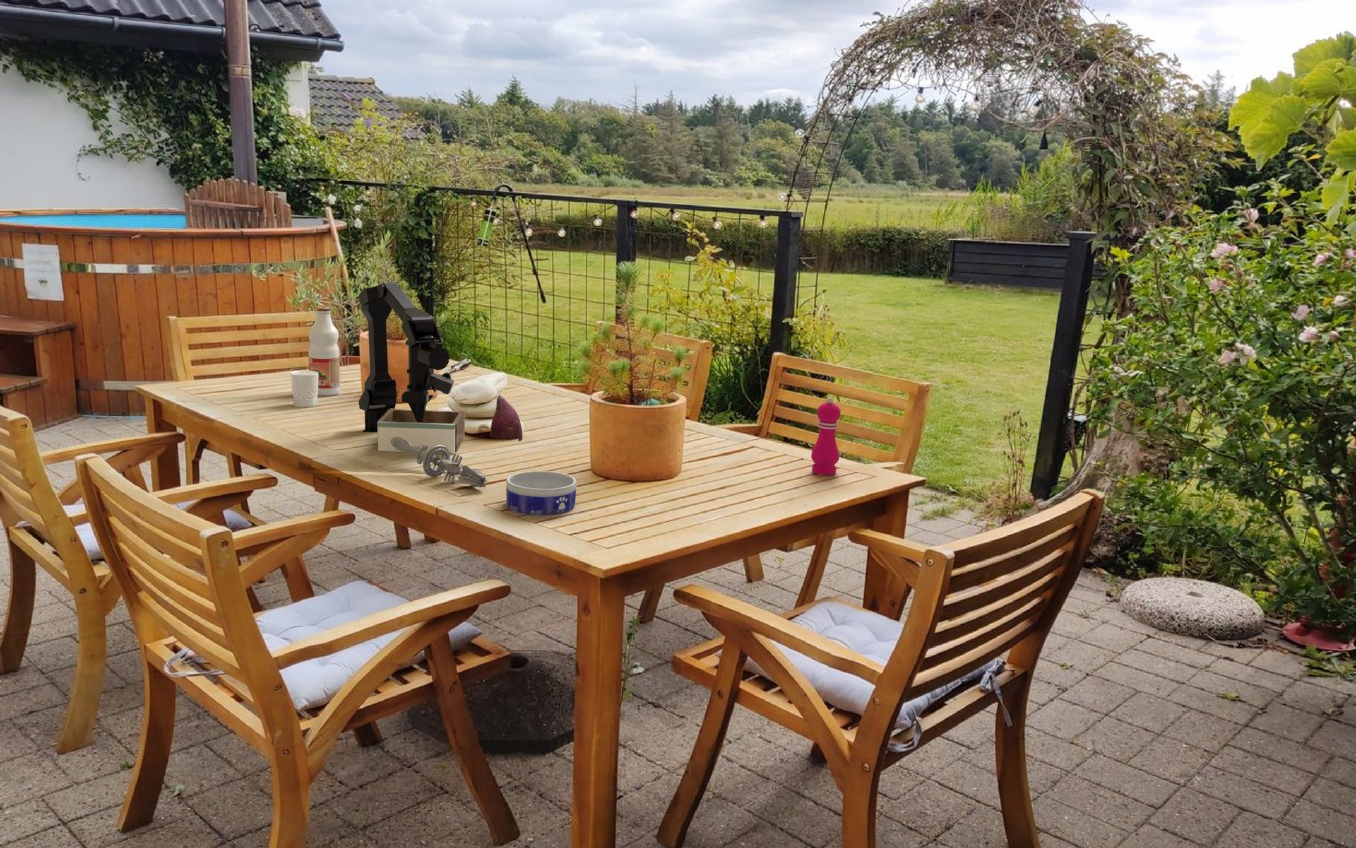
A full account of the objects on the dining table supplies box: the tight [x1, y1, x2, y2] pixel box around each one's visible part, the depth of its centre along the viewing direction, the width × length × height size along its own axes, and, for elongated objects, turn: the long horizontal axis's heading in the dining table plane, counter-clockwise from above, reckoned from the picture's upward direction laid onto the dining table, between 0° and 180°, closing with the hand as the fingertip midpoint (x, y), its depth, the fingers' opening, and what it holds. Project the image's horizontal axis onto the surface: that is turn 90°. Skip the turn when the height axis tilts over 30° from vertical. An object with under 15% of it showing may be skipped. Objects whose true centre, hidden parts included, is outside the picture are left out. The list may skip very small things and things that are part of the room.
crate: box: [376, 408, 466, 453], centre depth 272 cm, size 20×16×8 cm
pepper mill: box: [810, 396, 842, 476], centre depth 265 cm, size 7×7×20 cm
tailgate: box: [377, 421, 456, 454], centre depth 263 cm, size 19×1×8 cm, turn 94°
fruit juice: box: [308, 305, 341, 397], centre depth 331 cm, size 9×9×28 cm
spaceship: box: [391, 437, 489, 488], centre depth 244 cm, size 8×35×8 cm
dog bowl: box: [505, 470, 577, 516], centre depth 227 cm, size 15×15×6 cm
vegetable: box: [489, 394, 523, 442], centre depth 285 cm, size 10×9×14 cm
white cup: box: [290, 370, 319, 408], centre depth 314 cm, size 8×8×10 cm
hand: (420, 423), depth 268 cm, fingers closed
